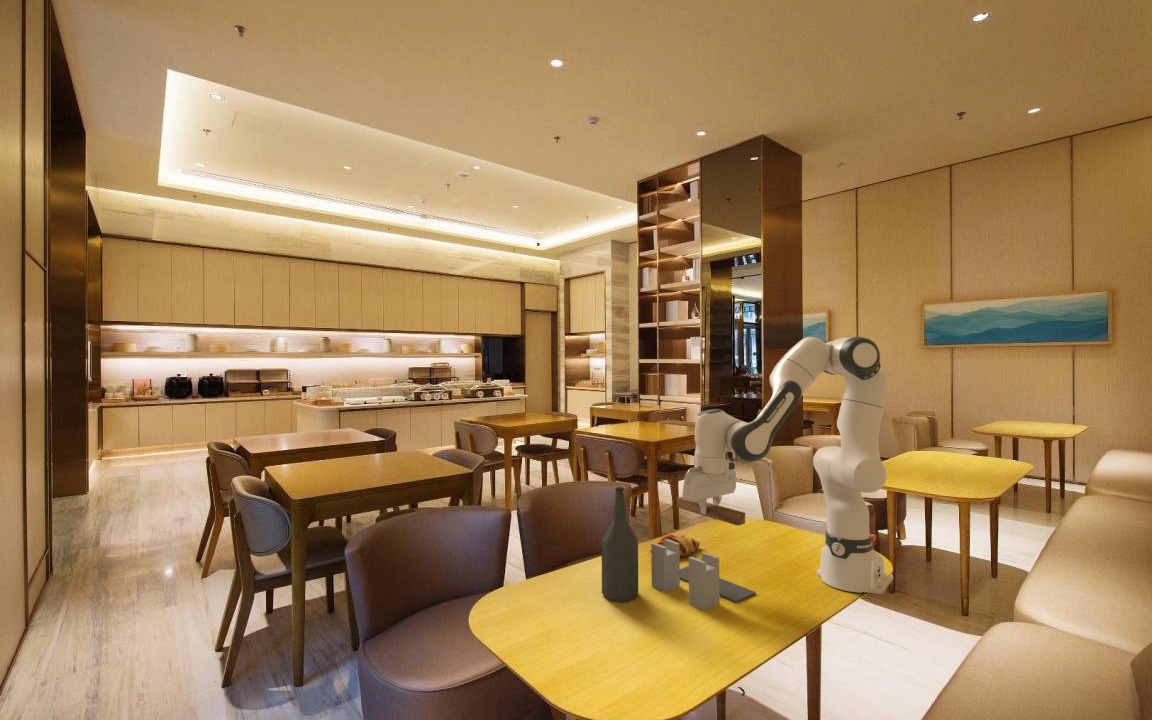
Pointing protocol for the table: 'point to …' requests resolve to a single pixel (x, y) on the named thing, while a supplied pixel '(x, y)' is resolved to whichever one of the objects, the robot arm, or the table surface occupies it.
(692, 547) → the croissant
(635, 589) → the bottle
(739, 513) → the rail
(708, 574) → the post
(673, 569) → the post
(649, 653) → the table surface
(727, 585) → the mat
